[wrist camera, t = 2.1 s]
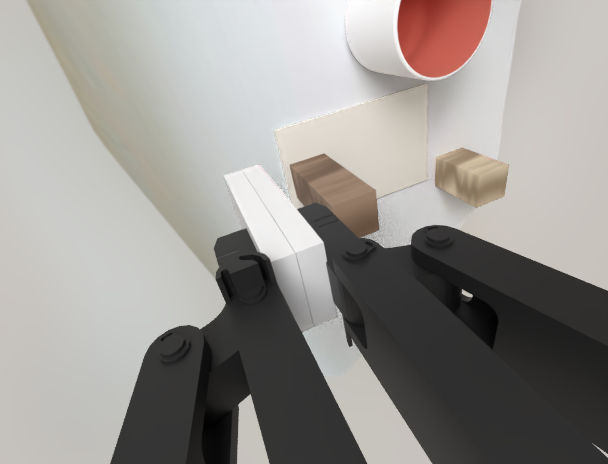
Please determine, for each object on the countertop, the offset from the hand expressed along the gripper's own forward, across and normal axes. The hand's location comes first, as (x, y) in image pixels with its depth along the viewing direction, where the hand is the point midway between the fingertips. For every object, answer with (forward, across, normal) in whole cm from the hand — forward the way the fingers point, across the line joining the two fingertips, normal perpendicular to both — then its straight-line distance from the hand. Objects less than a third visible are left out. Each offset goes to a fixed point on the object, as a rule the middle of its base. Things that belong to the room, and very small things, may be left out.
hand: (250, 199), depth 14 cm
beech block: (+25, +31, -17) cm, 43 cm away
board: (+25, +17, -11) cm, 32 cm away
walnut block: (+24, +10, -11) cm, 28 cm away
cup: (+25, +22, +3) cm, 33 cm away
